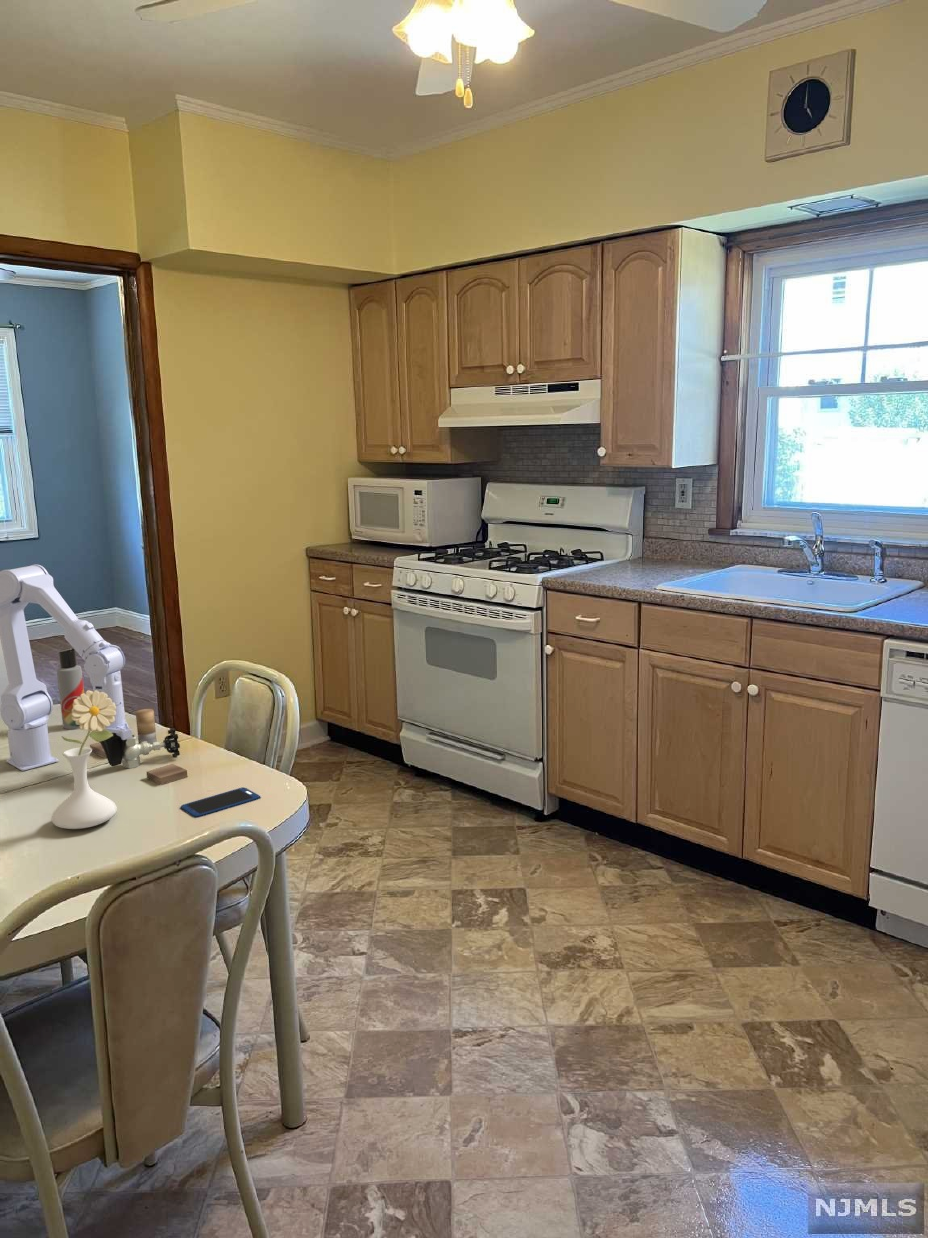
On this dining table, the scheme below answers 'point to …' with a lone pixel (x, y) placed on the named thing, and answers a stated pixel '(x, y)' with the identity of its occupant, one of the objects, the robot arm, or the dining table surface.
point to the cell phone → (219, 802)
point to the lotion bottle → (69, 685)
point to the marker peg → (146, 726)
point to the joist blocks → (156, 775)
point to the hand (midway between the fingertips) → (115, 764)
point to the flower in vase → (84, 802)
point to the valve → (148, 748)
